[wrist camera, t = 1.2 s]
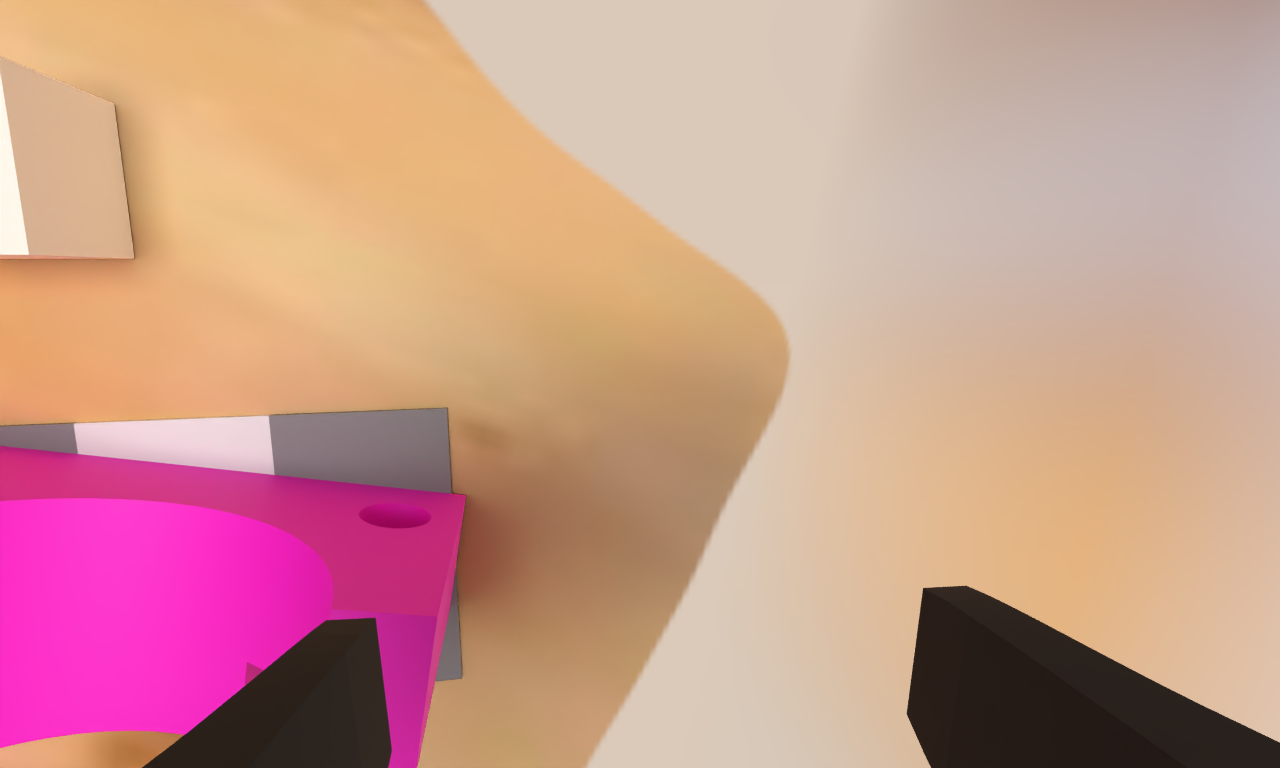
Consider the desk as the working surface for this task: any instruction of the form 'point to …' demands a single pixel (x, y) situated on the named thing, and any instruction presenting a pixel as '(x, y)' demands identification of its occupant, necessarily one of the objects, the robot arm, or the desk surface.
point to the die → (59, 171)
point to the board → (281, 456)
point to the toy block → (204, 589)
